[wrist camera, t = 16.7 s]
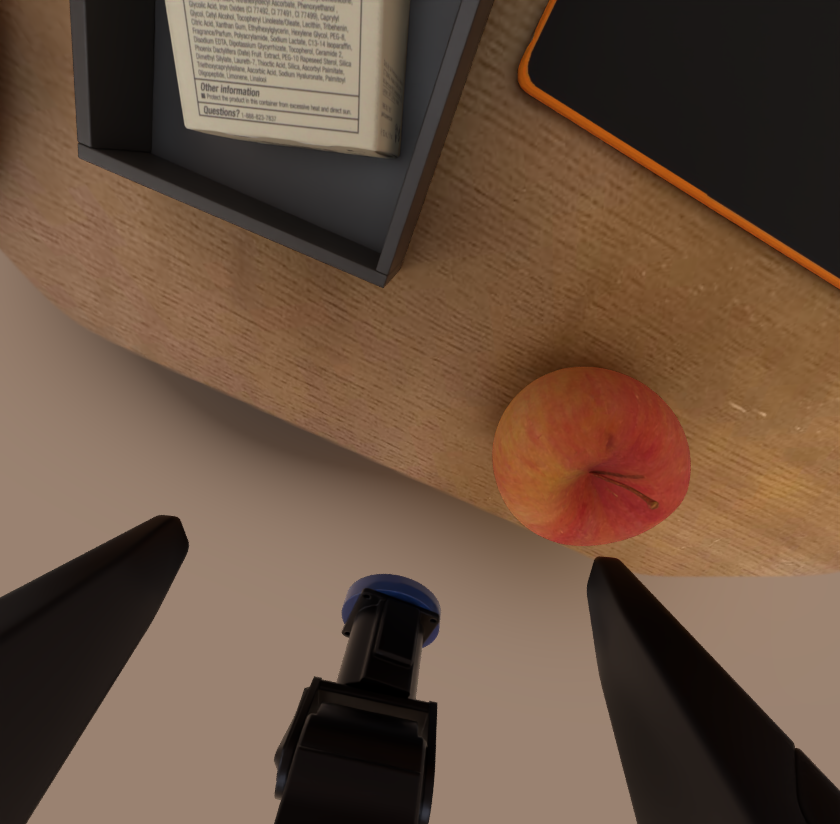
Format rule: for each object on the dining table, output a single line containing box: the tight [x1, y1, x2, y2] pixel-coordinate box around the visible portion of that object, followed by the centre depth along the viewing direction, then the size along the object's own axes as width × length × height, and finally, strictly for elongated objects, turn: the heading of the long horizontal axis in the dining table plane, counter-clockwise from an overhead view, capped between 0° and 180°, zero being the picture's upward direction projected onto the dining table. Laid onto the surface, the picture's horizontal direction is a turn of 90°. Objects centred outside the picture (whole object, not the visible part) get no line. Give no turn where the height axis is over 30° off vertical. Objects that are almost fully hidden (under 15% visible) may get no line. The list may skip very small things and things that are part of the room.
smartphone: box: [518, 0, 840, 289], centre depth 13 cm, size 8×17×1 cm, turn 64°
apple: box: [492, 367, 691, 546], centre depth 17 cm, size 7×7×8 cm
